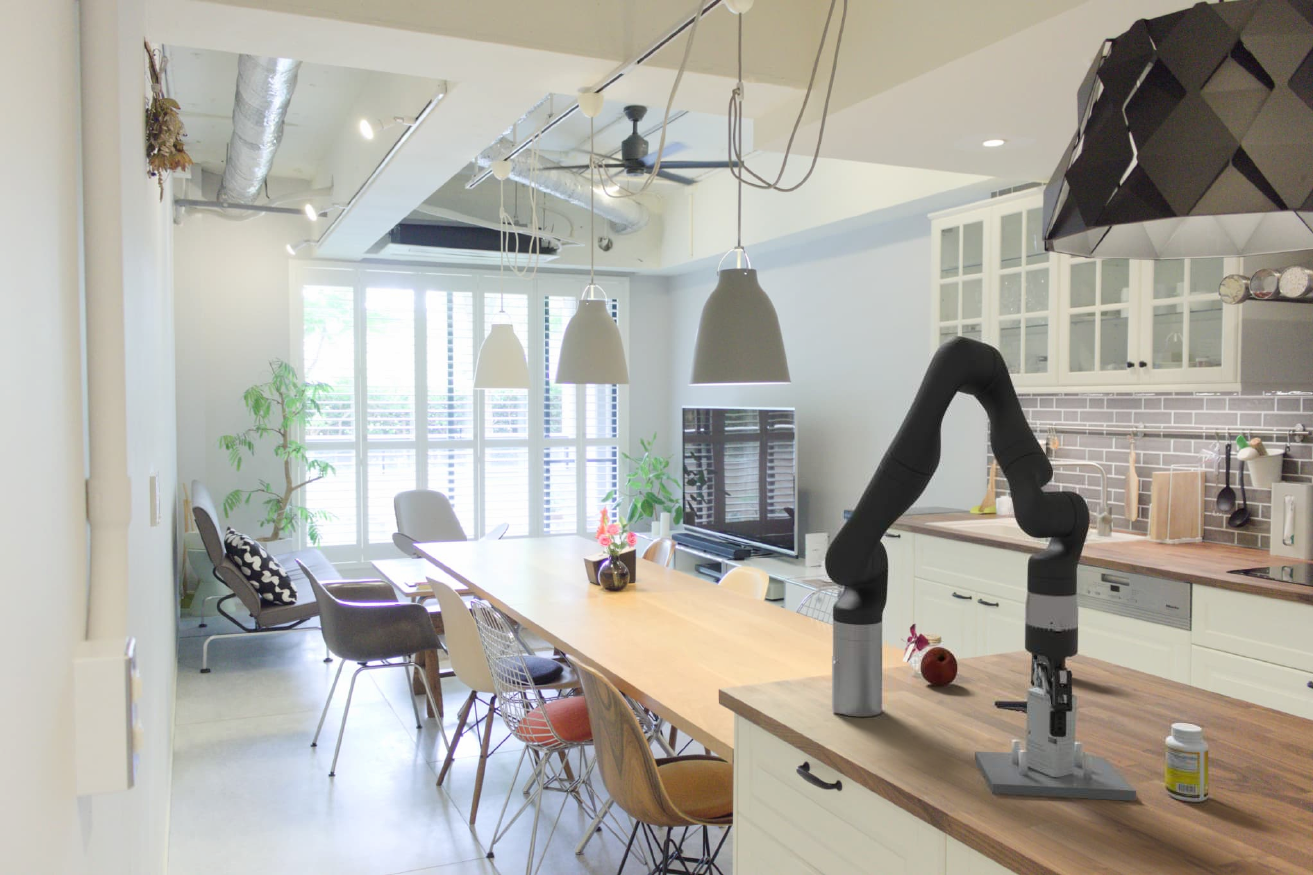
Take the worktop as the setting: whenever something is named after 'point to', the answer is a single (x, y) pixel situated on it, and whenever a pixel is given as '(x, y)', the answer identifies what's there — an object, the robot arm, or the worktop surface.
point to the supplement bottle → (1186, 763)
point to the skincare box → (1048, 737)
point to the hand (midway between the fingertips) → (1050, 726)
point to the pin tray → (1085, 782)
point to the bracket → (1012, 705)
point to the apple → (939, 666)
